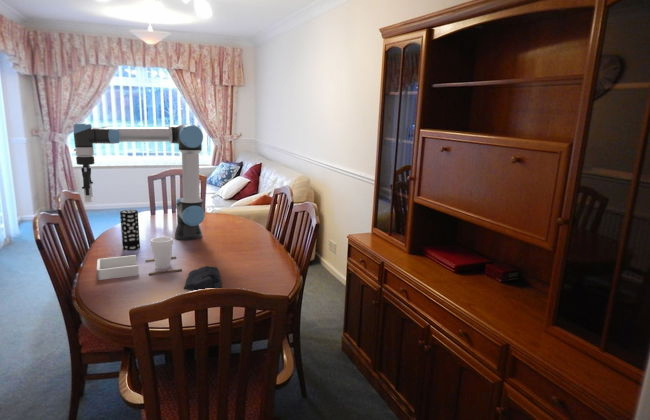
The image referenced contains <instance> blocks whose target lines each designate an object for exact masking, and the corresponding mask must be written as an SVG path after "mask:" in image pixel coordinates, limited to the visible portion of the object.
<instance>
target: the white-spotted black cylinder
mask: <svg viewBox="0 0 650 420" xmlns="http://www.w3.org/2000/svg"><path fill="white" fill-rule="evenodd" d="M119 214H120V229H121V230H120V232H121V242H122V250H123V251H124V252H132V251H133V252H134V251H138V250H139V249H141V239H140V228H139V227H140V225H139V213H138V210H136V209H125V210H120V211H119Z"/></svg>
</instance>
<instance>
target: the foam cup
mask: <svg viewBox="0 0 650 420" xmlns="http://www.w3.org/2000/svg"><path fill="white" fill-rule="evenodd" d="M173 245H174V239H173V238H172V237H171V236H157V237H153V238H151V239H150V246H151V249H152V254H153V259H154V260H155V261H154V264H155V267H156V268H157V269H168V268H170V267H171V265H172V264H171V262H172V259H171V257H172V253H173Z"/></svg>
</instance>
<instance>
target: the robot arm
mask: <svg viewBox="0 0 650 420" xmlns="http://www.w3.org/2000/svg"><path fill="white" fill-rule="evenodd" d="M73 139H74V147H75V149H74V150H73V151H74V152H75V155H76V158H75V159H76V165H79V166H82V167H81V169H80V170H81V176H82V183H83V186H82V187H81V189H82V190H83V192H84V193H83V194H84V203H92V201H93V200H92V198H93V197H94V196H93V184H94V181H92V176H91V175H92V167H91V165H94V164H95V157H94V155H95V153H94V151H95V150H94V144H104V145H105V144H108V145H109V144H110V145H114V144H119V143H124V142H125V143H126V142H127V143H128V142H129V143H133V142H134V143H135V142H139V143H140V142H141V143H143V142H146V143H147V142H148V143H151V142H155V143H156V142H167V143H168V142H169V144H178V151H179V152H180V153H181V166H182V168H181V169H182V171H181V173H182V197H180V198H179V197H178V198H177V199H176V203H175V205H176V222H177V223H176V228H175V231H174V238H175V239H177V240H181V241H189V240H190V241H191V240H192V241H193V240H197V239H200V238H202V237H203V233H202V229H201V226H200V224H202V223H203V221H204V219H205V217H206V215H205V214H206V213H205V211H204V201H203V199H202V198H201V197H200V157H199V156H200V155H199V154H200V153H201V152H202V151H203V150H202V149H203V148H202V146H203V145H202V143H203V141H204V135H203V131H202V129H201V128H199V127H198V126H197V125H196V124H195V125H194V124H191V123H184V124H177V125H169V126H168V127H167V126H165V127H162V126H161V127H157V126H156V127H153V126H151V127H149V126H146V127H145V126H144V127H141V126H140V127H137V126H135V127H134V126H130V127H129V126H117V127H116V126H102V127H92V124H91V123H85V122H84V123H83V122H80V123H79V122H78V123H74V124H73Z"/></svg>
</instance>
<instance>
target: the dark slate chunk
mask: <svg viewBox="0 0 650 420" xmlns="http://www.w3.org/2000/svg"><path fill="white" fill-rule="evenodd" d="M185 280H186V281H185V285H184V287H183V290H187V291H199V290H198V289H205V288H216V289H220V288H219V287H221V288H222V287H223V282H222V280H221V274H220V272H219V268H218V267H216V266H210V265H209V266H208V265H206V266H202V267H199V268H196V269H194V270H191V271H190V272H189V273H188V274H187V278H186V279H185Z"/></svg>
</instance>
